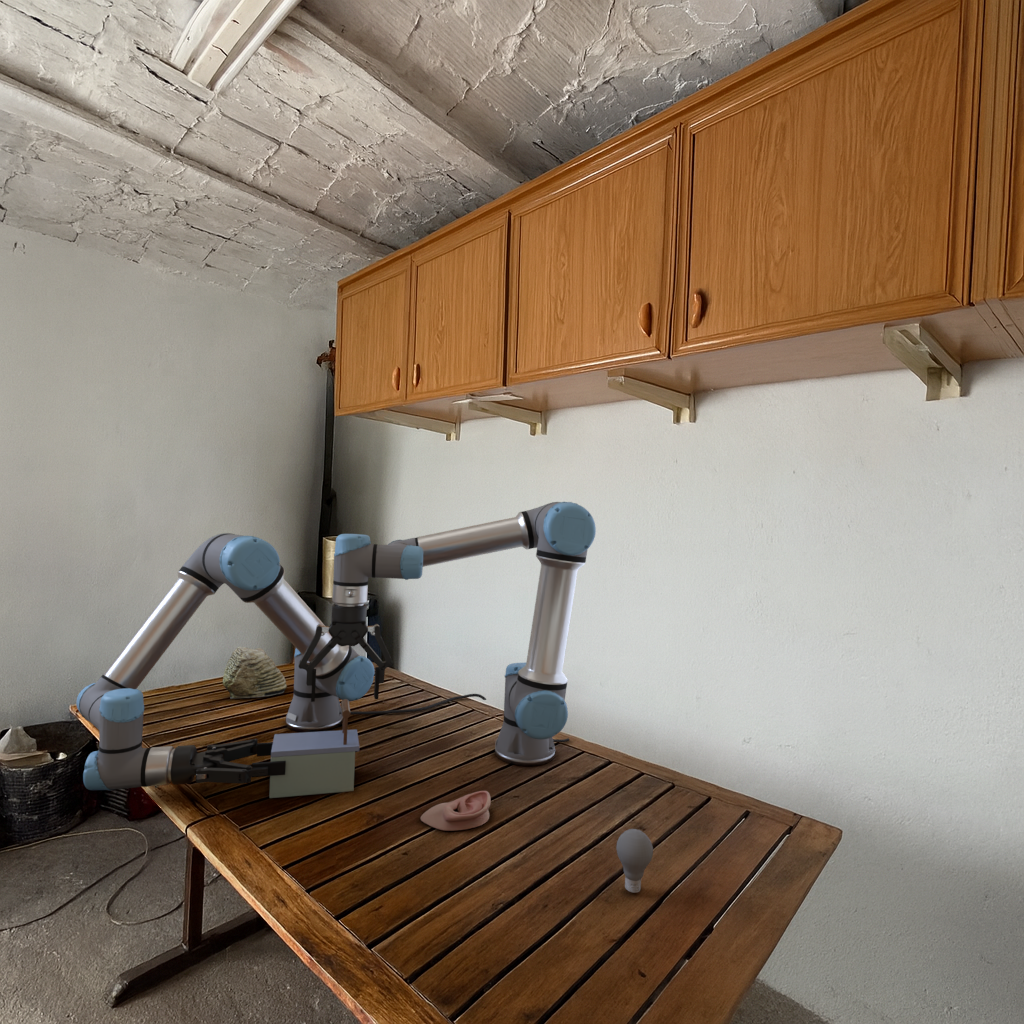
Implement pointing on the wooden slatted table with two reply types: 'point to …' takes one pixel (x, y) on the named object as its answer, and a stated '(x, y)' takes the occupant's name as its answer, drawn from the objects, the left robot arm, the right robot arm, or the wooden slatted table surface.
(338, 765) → the chest
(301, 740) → the lid
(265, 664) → the fossil
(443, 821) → the anatomical model
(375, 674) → the right robot arm
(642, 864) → the light bulb
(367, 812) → the wooden slatted table surface
